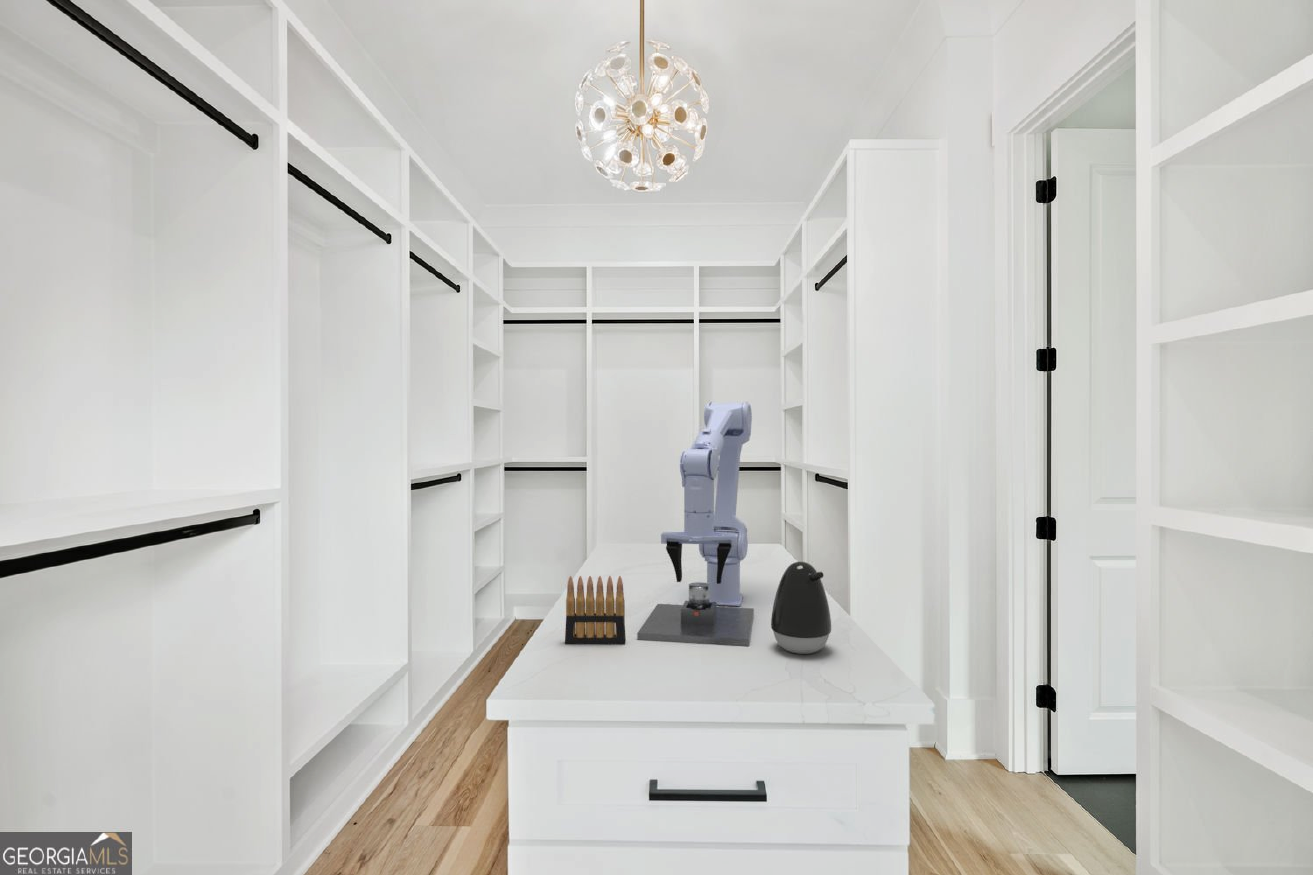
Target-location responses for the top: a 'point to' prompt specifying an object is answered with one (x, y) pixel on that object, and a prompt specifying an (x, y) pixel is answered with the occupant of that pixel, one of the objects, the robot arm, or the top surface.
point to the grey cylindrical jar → (699, 595)
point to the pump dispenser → (801, 610)
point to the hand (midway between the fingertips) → (699, 581)
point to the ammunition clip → (595, 614)
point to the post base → (698, 624)
